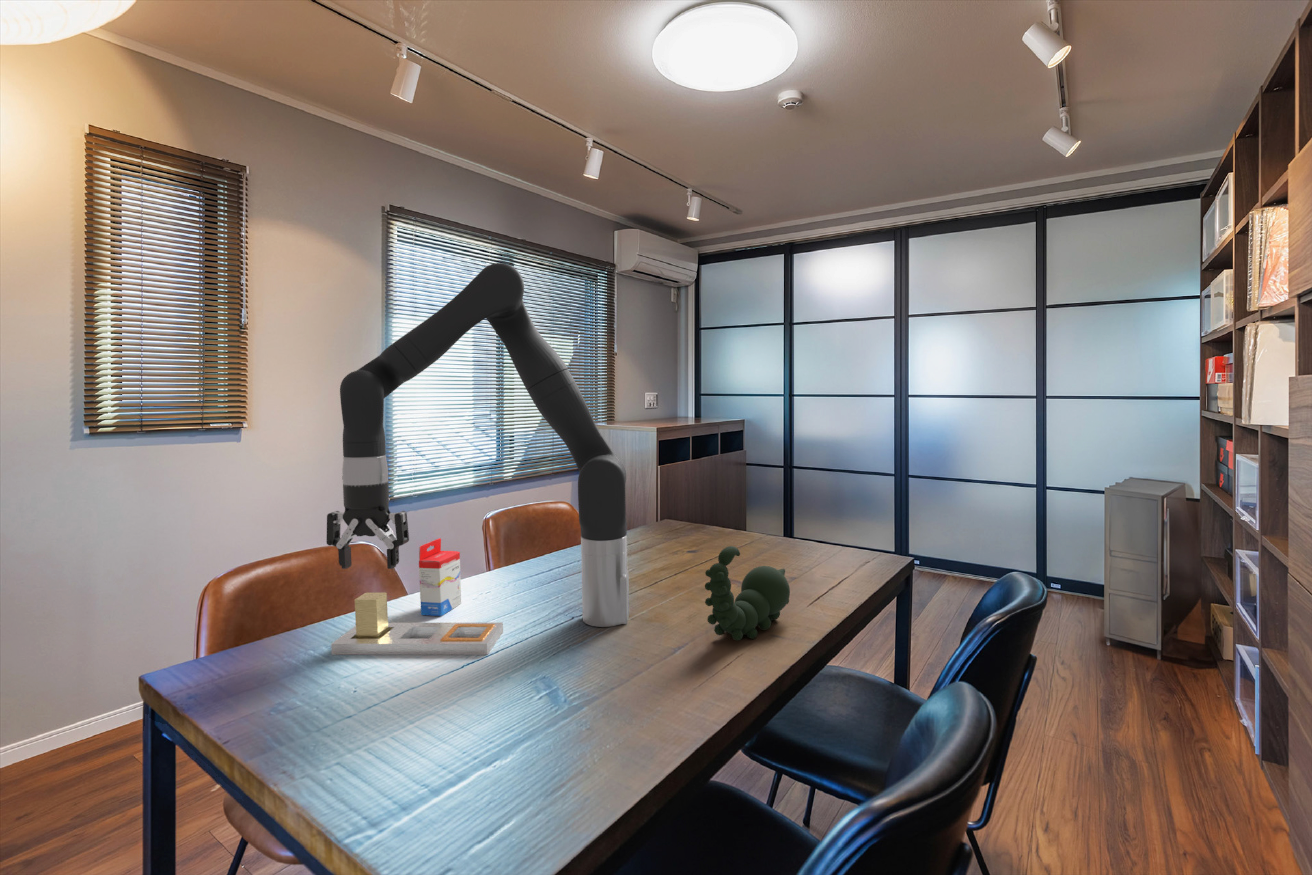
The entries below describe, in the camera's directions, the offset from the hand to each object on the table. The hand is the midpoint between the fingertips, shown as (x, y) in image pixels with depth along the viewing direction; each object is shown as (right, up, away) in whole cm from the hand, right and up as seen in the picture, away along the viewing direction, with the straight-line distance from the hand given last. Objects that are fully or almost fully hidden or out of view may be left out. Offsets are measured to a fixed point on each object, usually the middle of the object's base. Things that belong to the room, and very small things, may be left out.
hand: (369, 567), depth 113 cm
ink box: (+7, -13, +19) cm, 24 cm away
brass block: (0, -14, +1) cm, 14 cm away
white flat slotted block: (+9, -14, +1) cm, 17 cm away
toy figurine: (+71, -13, +5) cm, 73 cm away
